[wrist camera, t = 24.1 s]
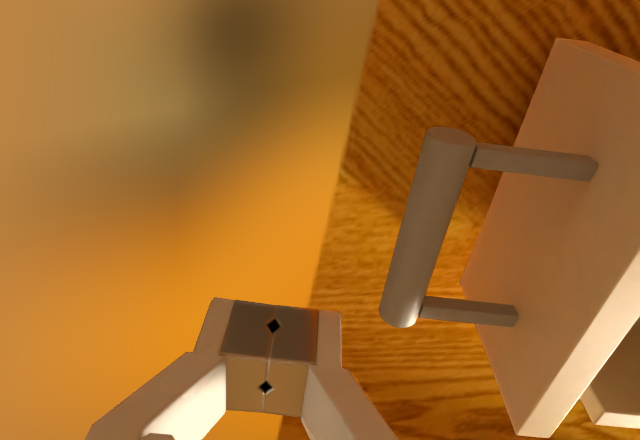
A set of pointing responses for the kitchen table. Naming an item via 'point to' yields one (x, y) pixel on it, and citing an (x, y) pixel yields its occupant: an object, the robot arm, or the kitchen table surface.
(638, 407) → the wooden pull-out drawer
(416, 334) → the kitchen table surface
